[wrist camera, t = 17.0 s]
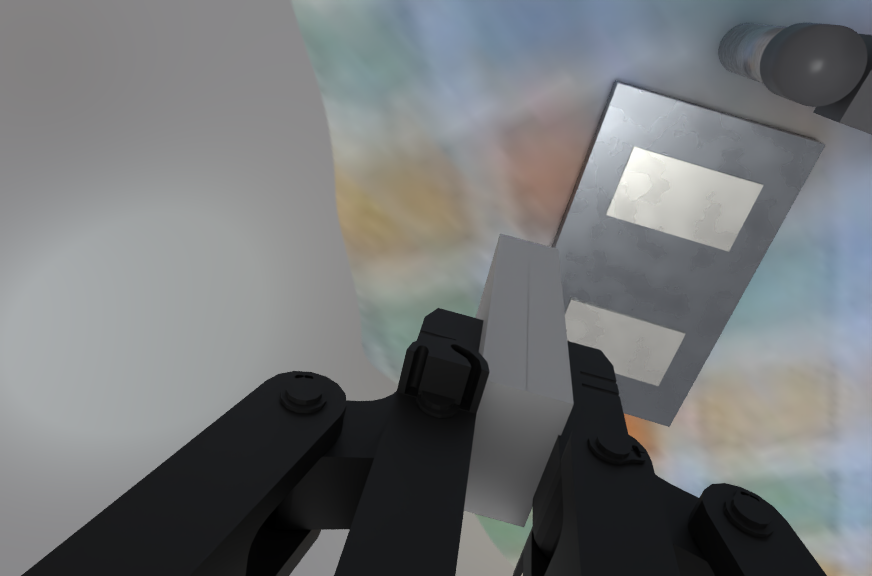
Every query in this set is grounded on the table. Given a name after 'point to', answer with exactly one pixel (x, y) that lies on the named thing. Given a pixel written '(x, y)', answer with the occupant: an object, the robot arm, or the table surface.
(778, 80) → the cable arm
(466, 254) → the table surface
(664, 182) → the label panel
